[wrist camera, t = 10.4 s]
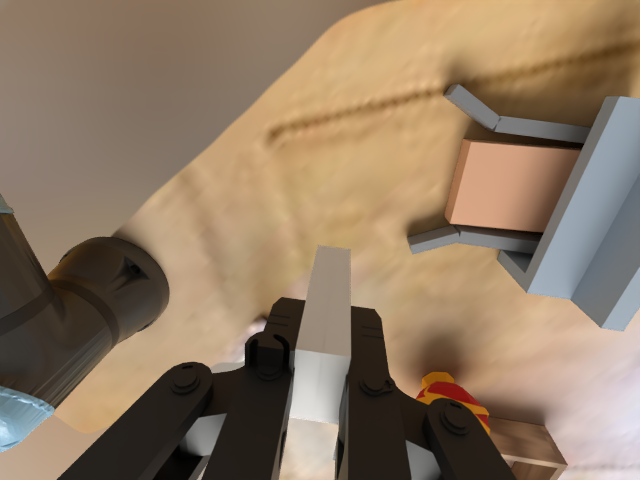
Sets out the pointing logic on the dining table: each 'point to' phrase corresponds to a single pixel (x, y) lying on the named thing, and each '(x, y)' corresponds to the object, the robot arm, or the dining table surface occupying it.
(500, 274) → the dining table surface
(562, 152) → the terracotta tile
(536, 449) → the walnut display tray
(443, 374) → the potion bottle
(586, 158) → the grey docking fixture
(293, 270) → the dining table surface
